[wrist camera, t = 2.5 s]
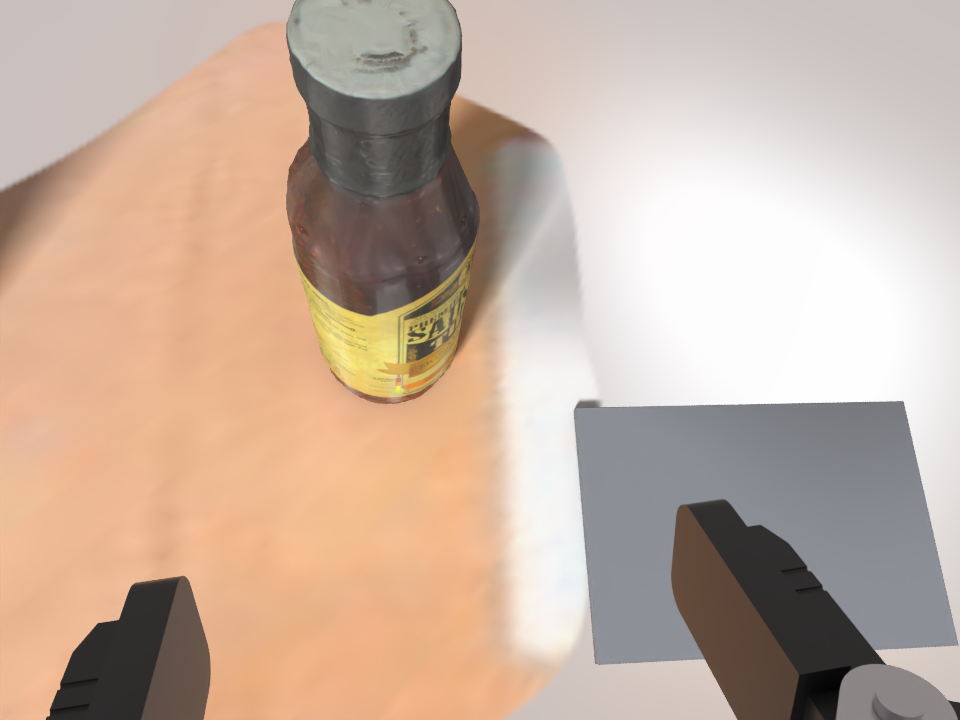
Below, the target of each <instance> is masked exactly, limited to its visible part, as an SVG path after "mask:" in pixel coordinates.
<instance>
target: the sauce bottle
mask: <svg viewBox="0 0 960 720" xmlns="http://www.w3.org/2000/svg"><path fill="white" fill-rule="evenodd" d="M286 38H287V44H288V49H289V53H290V63H291V65H292V70H293V77H294V80H295V83H296V86H297V88H298V90H299V92H300V94H301V96H302V97H303V99H304V100H305V102H306V105H307V109H308V114H309V121H310V125H309V137H308V140H307V141H306V142H305V144H304V145H303V146H302V147H301V148H300V149H299V150H298V152H297V154H296V156H295V159H294V161H293V163H292V164H291V166H290V168H289V175H288V181H287V196H286V205H287V208H286V209H287V215H288V220H289V225H290V228H291V231H292V235H293V236H292V242H293V249H294V254H295V258H296V262H297V265H298V269H299V273H300V276H301V280H302V284H303V287H304V290H305V294H306V297H307V301H308V305H309V309H310V313H311V316H312V320H313V324H314V327H315V331H316V334H317V338H318V341H319V345H320V349H321V353H322V355H323V357H324V359H325V361H326V362H327V364H328V365H329V367H330V370H331V372H332V373H333V375H334V376H335V378H336V379H337V380H338V381H339V382H340V383H342V384H343V385H344V386H345V387H346V388H347V389H349V390H350V391H352V392H353V393H354V394H355V395H358V396H359V397H361V398H364V399H366V400H368V401H371V402H375V403H382V404H390V403H392V404H395V403H400V402H405V401H407V400H411V399H415V398H417V397H419V396H421V395H422V394H424V393H425V392H426V391H427V390H429V389H430V388H431V387H432V386H433V385H434V384H435V383H436V382H437V381H438V379H439V378H440V377H441V376H443V375H444V371H445V370H446V369H447V367H448V366H449V364H450V363H451V361H452V358H453V356H454V354H455V351H456V348H457V343H458V337H459V332H460V327H461V322H462V316H463V311H464V305H465V300H466V295H467V289H468V285H469V280H470V273H471V267H472V261H473V255H474V251H475V246H476V240H477V234H478V228H479V207H478V203H477V200H476V196H475V194H474V192H473V191H472V189H471V187H470V185H469V183H468V181H467V178H466V176H465V174H464V172H463V169H462V167H461V165H460V163H459V160H458V158H457V156H456V154H455V151H454V149H453V147H452V145H451V131H450V127H449V112H450V106H451V100H452V98H453V96H454V94H455V92H456V90H457V88H458V85H459V82H460V79H461V52H462V32H461V27H460V23H459V20H458V18H457V14H456V10H455V8H454V7H453V6H452V4H451V3H450V2H449V1H448V0H296V1H295V3H294V5H293V8H292V11H291V14H290V17H289V19H288V22H287V33H286Z"/></svg>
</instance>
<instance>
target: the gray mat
mask: <svg viewBox="0 0 960 720" xmlns="http://www.w3.org/2000/svg"><path fill="white" fill-rule="evenodd" d="M574 420H575V432H576V443H577V455H578V467H579V479H580V491H581V503H582V514H583V526H584V538H585V550H586V562H587V573H588V585H589V597H590V609H591V620H592V633H593V643H594V656H595V664H599V665H602V664H621V663H638V662H657V661H675V660H695V659H705V658H704V656H703V655H702V653H701V651H700V649H699V647H698V645H697V643H696V642H695V640H694V638H693V636H692V634H691V632H690V630H689V629H688V627H687V625H686V623H685V621H684V619H683V618H682V616H681V614H680V612H679V610H678V607H677V605H676V602H675V598H674V594H673V590H672V583H671V568H672V557H673V546H674V535H675V523H676V514H677V510H678V508H679V506H680V505H684V504H690V503H697V502H704V501H711V500H718V499H725V500H727V501H728V502H729V503H730V504H731V505H732V507H733V508H734V509H735V511H736V512H737V513H738V515H739V516H740V517H741V519H742V520H743V521H744V523H745V524H746V525H747V527H748V526H755V525H762V526H764V527H765V528H767V529H768V530H770V531H771V532H773V533H774V534H776V535H777V536H779V537H780V538H782V539H783V540H785V541H786V542H788V543H789V544H790V545H791V547H792V548H793V549H794V550H795V552H796V553H797V554H798V555H799V557H800V558H801V559H802V560H803V562H804V563H805V564H806V565H807V569H808V571H811V572H812V573H813V574H814V575H815V577H816V578H817V579H818V580H819V582H820V583H821V584H822V585H823V590H824V591H826V590H827V592H828V593H829V594H830V595H831V597H832V598H833V599H834V600H835V602H836V603H837V604H838V605H839V607H840V608H841V609H842V610H843V612H844V613H845V614H846V615H847V617H848V618H849V619H850V620H851V622H852V623H853V624H854V625H855V627H856V628H857V629H858V630H859V632H860V633H861V634H862V635H863V637H864V638H865V639H866V640H867V642H868V643H869V644H870V645H871V647H872V648H873V649H874V650H881V649H899V648H917V647H936V646H937V647H938V646H956V645H958V641H957V637H956V632H955V628H954V623H953V619H952V615H951V610H950V606H949V601H948V597H947V592H946V588H945V584H944V579H943V574H942V570H941V566H940V561H939V557H938V552H937V548H936V543H935V539H934V535H933V530H932V526H931V521H930V517H929V512H928V508H927V504H926V499H925V495H924V490H923V486H922V481H921V477H920V473H919V468H918V464H917V459H916V455H915V451H914V446H913V442H912V437H911V433H910V428H909V424H908V419H907V415H906V411H905V406H904V402H903V401H900V402H899V401H897V402H849V403H801V404H800V403H798V404H750V405H701V406H700V405H699V406H650V407H600V408H576V409H575V410H574Z"/></svg>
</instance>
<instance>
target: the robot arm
mask: <svg viewBox="0 0 960 720" xmlns="http://www.w3.org/2000/svg"><path fill="white" fill-rule="evenodd" d="M671 583H672V590H673V594H674V598H675V602H676V605H677V607H678V610H679V612H680V614H681V616H682V618H683V619H684V621H685V623H686V625H687V627H688V629H689V630H690V632H691V634H692V636H693V638H694V640H695V642H696V643H697V645H698V647H699V649H700V651H701V653H702V655H703V656H704V658H705V660H706V662H707V664H708V666H709V668H710V669H711V671H712V673H713V675H714V677H715V678H716V680H717V682H718V684H719V686H720V688H721V690H722V692H723V693H724V695H725V697H726V699H727V701H728V703H729V705H730V706H731V708H732V710H733V712H734V714H735V716H736V717H737V719H738V720H960V703H959V702H953V701H949V700H947V699H946V698H945V697H944V695H943V694H942V693H941V692H940V691H939V690H938V689H937V688H935V687H934V686H933V685H931V684H930V683H929V682H927V681H926V680H924V679H923V678H921V677H919V676H917V675H915V674H913V673H911V672H909V671H907V670H904V669H901V668H898V667H894V666H890V665H886V664H885V663H884V662H883V661H882V659H881V658H880V657H879V655H878V654H877V653H876V652H875V650H874V649H873V648H872V647H871V645H870V644H869V643H868V642H867V640H866V639H865V638H864V637H863V635H862V634H861V633H860V632H859V630H858V629H857V628H856V627H855V625H854V624H853V623H852V622H851V620H850V619H849V618H848V617H847V615H846V614H845V613H844V612H843V610H842V609H841V608H840V607H839V605H838V604H837V603H836V602H835V600H834V599H833V598H832V597H831V595H830V594H829V593H828V592H827V590H826V591H824V590H823V585H822V584H821V583H820V582H819V580H818V579H817V578H816V577H815V575H814V574H813V573H812V572H811V571H808V569H807V565H806V564H805V563H804V562H803V560H802V559H801V558H800V557H799V555H798V554H797V553H796V552H795V550H794V549H793V548H792V547H791V545H790V544H789V543H788V542H786V541H785V540H783V539H782V538H780V537H779V536H777V535H776V534H774V533H773V532H771V531H770V530H768V529H767V528H765V527H764V526H762V525H755V526H748V527H747V525H746V524H745V523H744V521H743V520H742V519H741V517H740V516H739V515H738V513H737V512H736V511H735V509H734V508H733V507H732V505H731V504H730V503H729V502H728V501H727V500H725V499H718V500H711V501H704V502H697V503H690V504H684V505H680V506H679V508H678V510H677V514H676V523H675V535H674V546H673V557H672V568H671ZM60 685H61V688H60V690H58V691H57V693H56V696H55V698H54V701H53V703H52V706H51V708H50V716H49V717H47V718H46V720H203V719H204V714H205V708H206V703H207V698H208V692H209V686H210V655H209V648H208V644H207V640H206V637H205V633H204V630H203V627H202V623H201V620H200V616H199V613H198V610H197V606H196V603H195V599H194V596H193V592H192V589H191V586H190V583H189V581H188V579H187V578H186V577H185V576H180V577H173V578H166V579H159V580H152V581H146V582H139V583H135V584H133V585H132V586H131V588H130V590H129V593H128V596H127V598H126V601H125V604H124V607H123V610H122V613H121V616H120V619H119V620H117V621H110V622H103V623H98V624H97V625H96V626H95V627H94V629H93V630H92V631H91V632H90V633H89V634H88V635H87V637H86V638H85V639H84V640H83V641H82V642H81V644H80V645H79V646H78V647H77V648H76V649H75V650H74V652H73V653H72V656H71V658H70V661H69V663H68V666H67V668H66V671H65V673H64V676H63V678H62V681H61V683H60Z"/></svg>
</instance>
